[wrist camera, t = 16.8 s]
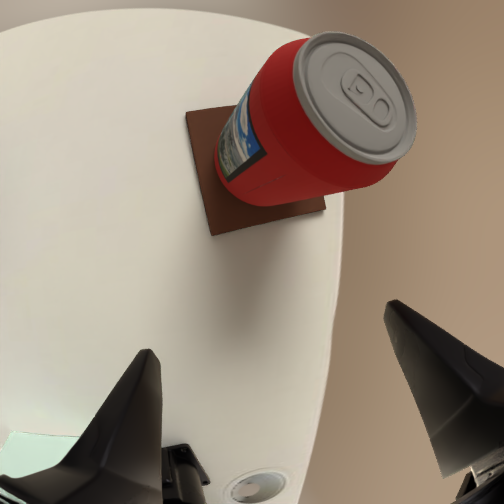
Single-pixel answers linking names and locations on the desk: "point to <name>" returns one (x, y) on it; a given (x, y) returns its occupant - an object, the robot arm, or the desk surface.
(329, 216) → the desk surface
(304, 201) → the mat
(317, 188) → the beverage can
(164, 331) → the desk surface
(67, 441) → the l-shaped corner panel
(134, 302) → the desk surface
